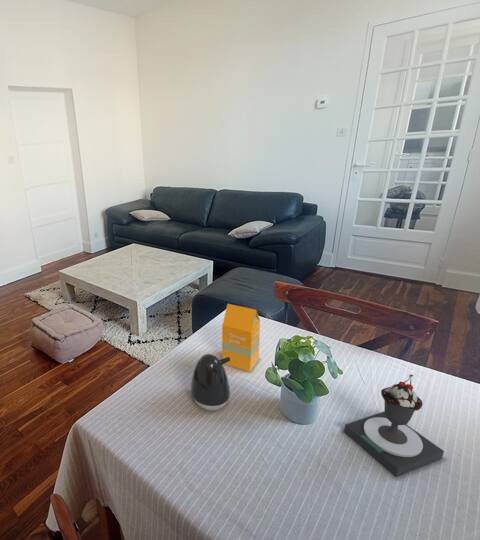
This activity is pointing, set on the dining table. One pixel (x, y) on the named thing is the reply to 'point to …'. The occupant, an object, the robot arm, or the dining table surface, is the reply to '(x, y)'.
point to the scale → (393, 445)
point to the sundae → (398, 410)
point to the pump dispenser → (210, 383)
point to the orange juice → (241, 336)
